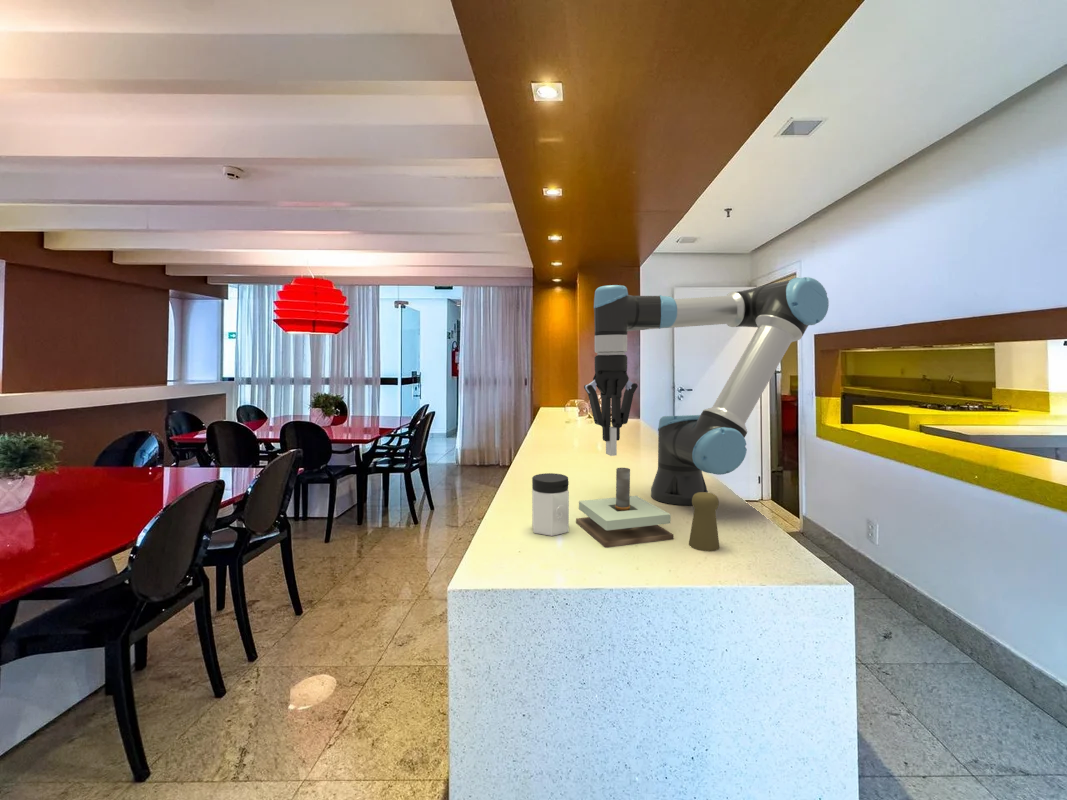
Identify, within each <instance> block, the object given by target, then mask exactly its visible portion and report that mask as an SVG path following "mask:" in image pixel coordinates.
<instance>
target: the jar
mask: <svg viewBox="0 0 1067 800" xmlns="http://www.w3.org/2000/svg"><path fill="white" fill-rule="evenodd" d="M531 479H532V480H531V482H532V484H531V487H532V489H531V490H532V491H531V495H532V497H531V499H532V500H531V504H532V505H531V507H532V508H531V510H532V511H531V512H532V513H531V514H532V515H531V517H532V521H531V523H532V524H531V525H532V531H533V533H534V534H538V535H545V536H549V537H555V536H557V535H558V536H559V535H562V534H565V533H568V532H569V527H570V526H569V525H570V523H569V522H570V521H569V520H570V519H569V518H570V517H569V510H570V509H569V507H570V503H569V502H570V501H569V499H570V495H569V493H570V492H569V485H570V482H569V477H568V476H567V475H564V474H561V473H553V472H549V473H547V472H546V473H538V474H535V475H533V476H532V477H531Z"/></svg>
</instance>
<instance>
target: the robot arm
mask: <svg viewBox="0 0 1067 800" xmlns="http://www.w3.org/2000/svg"><path fill="white" fill-rule="evenodd" d="M829 302H830V301H829V298H828V292H827V290H826V288H825V287H824V285H823V284H822V283H821V282H820V281H819V280H817V279H815V278H813V277H809V276H807V277H793V278H792V279H789V280H785V281H780V282H779V281H778V282H773V283H768V284H764V285H761V286H756V287H753V288H750V289H744V290H739V291H731V292H729V293H728V294H726V295H724V296H723V295H720V296H718V295H717V296H704V297H688V298H686V297H685V298H674V297H672V296H667V295H662V294H659V295H632V294H629V291H628V288H627V286H625V285H621V284H619V285H618V284H612V285H611V284H609V285H602V286H599V287H597V288H596V289H595V291H594V298H593V313H594V314H593V315H594V316H593V317H594V319H593V320H594V322H593V323H594V353H595V354H596V355H595V356H594V375H593V378H592V381H591V382H590V383H588V384H584V385H583V389H584V390H585V392H586V393H587V395H588V399H589V400H588V401H589V405H590V409H591V412H592V417H593V421H594V424H595V425H598V426H601V429H602V431H601V433H602V441H604V442H605V455H608V456H610V457H612V456H613V457H614V456H617V453H618V451H617V449H618V448H617V441H620V440H621V438H620V437H621V429H620V428H622V427H623V425H627V424H628V422H629V417H630V413H631V408H632V405H633V404H632V403H633V399H634V395H635V392H636V390H637V389H638V387H639V386H638V384H637V383H635V382H632V381H631V380H629V379H630V377H629V376H628V356H627V354H625V353H627V352H628V332H634V331H645V330H646V331H647V330H658V329H671V328H686V327H687V328H688V327H700V326H715V325H716V326H717V325H726V326H728V327H731V328H737V327H739V328H740V327H742V328H757V329H756V331H755V332H754V334H753V336H752V337H751V340H750V341H749V343H748V345H747V346H746V348H745V350H744V352H743V353H742V355H741V356H740V358H739V360H738V362H737V364H736V365H735V367H734V369H733V370H732V372H731V373H730V376H729V377H728V379H727V381H726V382H725V385H724V386H723V388H722V389H721V392H720V393H719V394H718V396H717V398H716V400H715V402H714V403H713V405H712V406H711V407H710V408H706V409H705V408H704V409H703V410H702V412H701V414H693V415H691V414H690V415H689V414H688V415H687V414H685V415H684V414H683V415H664V416H662V417H660V418H659V420H658V428H657V431H658V442H657V443H658V445H657V446H658V447H657V448H658V449H657V452H658V453H657V470H656V473H655V477H654V479H653V482H652V485H651V486H650V487H651V488H650V497H651V498H652V499H653V500H656V501H658V502H660V503H664V504H669V505H670V504H671V505H679V506H693V505H692V498H693V495H694V494H696V493H698V492H708V493H709V491H708V488H707V485H706V481H705V479H704V478H705V477H704V474H703V472H704V473H706V474H707V473H708V474H711V475H712V474H713V475H719V476H720V475H726V474H730V473H731V472H733V471H735V470H736V469H738V468H739V467H740V466H741V464H743V461H744V460H745V458H746V456H747V447H746V446H747V441H746V439H745V438H746V436H747V434H748V429H747V427H746V423H747V421H748V419H749V417H750V415H751V414H752V412H753V411H754V408H755V406H756V405H757V403H758V401H759V400H760V398H761V396H762V394H763V393H764V391H765V389H766V387H767V385H768V384H769V382H770V381H771V378H772V377H773V376H774V373H775V372H776V370H777V368H778V367H779V365H780V363H781V361H782V360H783V358H784V356H785V354H786V352H787V351H788V349H789V347H790V345H791V344H792V343H793V342H797V341H800V340H801V339H802V338H803V336H804V334H805V332H806V331H807V328H809V326H815V325H816V324H818V323H821V322H822V321H823V320H824V318H826V316H827V313H828V310H829V305H830V304H829ZM597 389H598V390H599V391H600V398H601V399H600V400H601V402H600V401H599V397H598V396H599V395H598V393H597ZM624 389H625V390H624ZM623 390H624V393H623V395H622V391H623ZM622 396H623V397H622ZM621 399H622V401H621ZM600 403H601V406H600Z"/></svg>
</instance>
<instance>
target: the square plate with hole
mask: <svg viewBox="0 0 1067 800" xmlns="http://www.w3.org/2000/svg"><path fill="white" fill-rule="evenodd" d="M615 505H616V497H606V498H605V497H604V498H598V499H585V500H583V499H582V500H579V501H578V510H579V511H580V512H582V513H583V514H584V515H586V517H590V518H591V519H592V520H593V521H595V522H596V523H597V524H599V525H600V526H601V527H602V528H604V529H605V530H606V531H607V530H616V529H625V528H634V527H642V526H651V525H659V526H661V525H668V524H671V519H672V518H671V516H672V514H671V513H669V512H667V511H665V510H664V509H662V508H660V507H658V506H656V505H655V504H653V503H650V502H649V501H647V500H645V499H643V498H641V497H639V496H638V495H630V510H628V511H618V512H617V511H616V508H615Z"/></svg>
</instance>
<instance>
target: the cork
mask: <svg viewBox="0 0 1067 800" xmlns="http://www.w3.org/2000/svg"><path fill="white" fill-rule="evenodd" d="M719 503H720V501H719V498H718V496H717V495H716V494H714V493H712V492H709V491H708V492H698V493H696V494H694V495H693V498H692V505H691V506H692V507H693V508H694V511H693V516H692V517H693V518H692V522H691V528H690V535H689V541H688V546H689V547H690V546H691V547H690V548H692V549H694V550H698V551H702V552H715V551H718V550H719V549H720V541H719V540H720V539H719V530H718V523H717V513H716V511H717V509H718V508H719Z"/></svg>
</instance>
